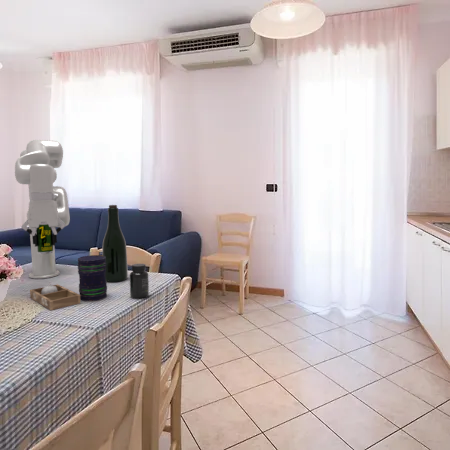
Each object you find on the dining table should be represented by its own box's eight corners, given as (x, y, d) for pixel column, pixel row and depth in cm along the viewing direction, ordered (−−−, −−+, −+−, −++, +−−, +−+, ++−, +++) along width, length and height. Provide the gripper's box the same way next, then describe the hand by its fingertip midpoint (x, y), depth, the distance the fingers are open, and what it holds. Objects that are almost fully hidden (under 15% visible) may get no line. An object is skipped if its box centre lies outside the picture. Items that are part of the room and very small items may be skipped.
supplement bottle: (147, 292, 140) (147, 262, 138) (149, 297, 133) (149, 266, 132) (129, 294, 137) (128, 263, 136) (130, 299, 131) (129, 267, 130)
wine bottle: (115, 275, 166) (113, 203, 162) (132, 278, 161) (130, 204, 157) (97, 280, 157) (94, 205, 153) (115, 283, 152) (112, 205, 148)
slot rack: (29, 297, 133) (29, 290, 133) (58, 291, 141) (57, 284, 140) (50, 310, 120) (49, 301, 120) (80, 303, 127) (80, 294, 127)
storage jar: (95, 302, 128) (93, 261, 126) (73, 299, 131) (71, 259, 130) (112, 294, 137) (111, 256, 135) (92, 292, 141) (90, 254, 139)
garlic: (49, 294, 137) (49, 281, 137) (61, 296, 136) (60, 282, 135) (37, 299, 131) (36, 285, 131) (49, 301, 130) (48, 286, 129)
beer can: (35, 253, 136) (33, 221, 135) (50, 251, 140) (48, 220, 139) (40, 254, 132) (38, 222, 131) (55, 252, 136) (54, 221, 135)
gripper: (67, 197, 141) (69, 242, 143) (17, 197, 134) (20, 245, 136) (67, 197, 134) (69, 245, 136) (14, 198, 127) (18, 248, 129)
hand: (45, 245), depth 136 cm, fingers closed on beer can, 5 cm apart
